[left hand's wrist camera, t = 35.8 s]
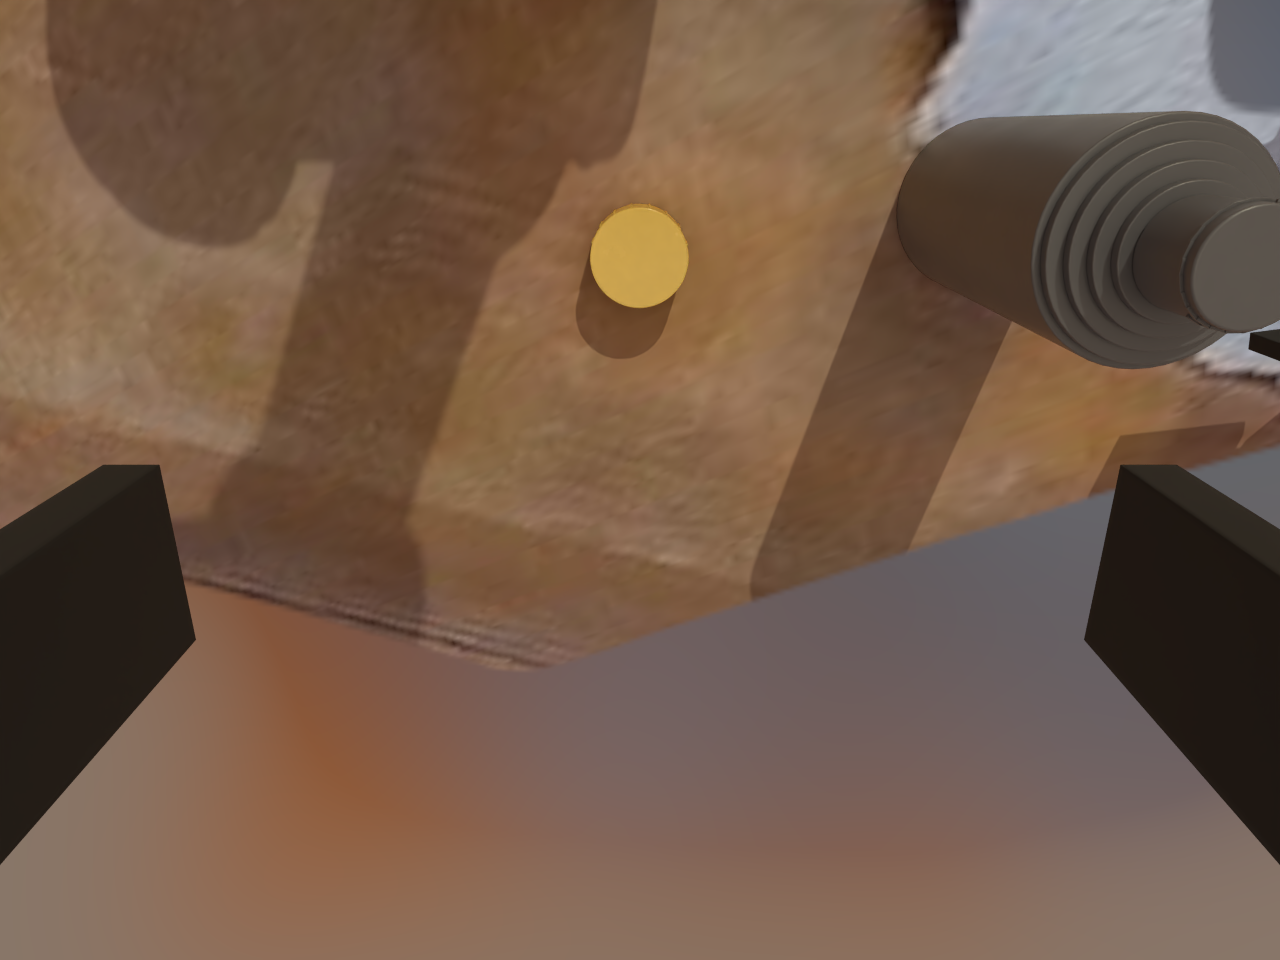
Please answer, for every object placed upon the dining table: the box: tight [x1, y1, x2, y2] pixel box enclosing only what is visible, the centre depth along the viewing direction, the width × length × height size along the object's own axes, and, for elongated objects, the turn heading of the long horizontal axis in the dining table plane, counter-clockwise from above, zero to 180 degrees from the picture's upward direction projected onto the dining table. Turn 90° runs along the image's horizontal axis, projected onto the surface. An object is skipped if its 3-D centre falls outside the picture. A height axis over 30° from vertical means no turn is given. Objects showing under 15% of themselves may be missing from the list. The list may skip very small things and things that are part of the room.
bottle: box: [897, 111, 1280, 369], centre depth 33 cm, size 8×8×21 cm
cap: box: [589, 203, 689, 308], centre depth 43 cm, size 5×5×2 cm
